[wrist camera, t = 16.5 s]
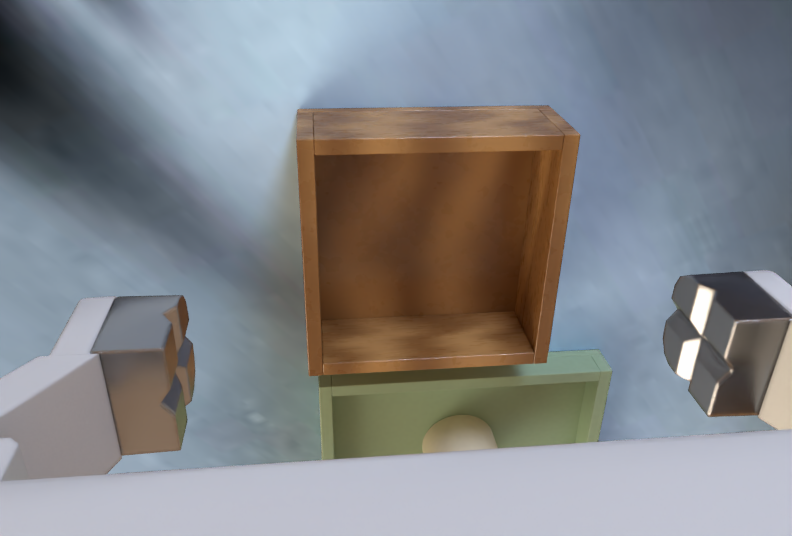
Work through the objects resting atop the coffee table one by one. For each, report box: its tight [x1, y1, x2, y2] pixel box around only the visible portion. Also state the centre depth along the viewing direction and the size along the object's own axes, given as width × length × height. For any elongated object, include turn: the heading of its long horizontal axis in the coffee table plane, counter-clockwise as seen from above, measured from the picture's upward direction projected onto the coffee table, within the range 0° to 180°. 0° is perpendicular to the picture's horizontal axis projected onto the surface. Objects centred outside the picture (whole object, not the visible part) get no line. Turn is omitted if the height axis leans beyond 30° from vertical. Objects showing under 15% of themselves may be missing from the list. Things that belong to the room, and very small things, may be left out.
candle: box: [422, 415, 498, 453], centre depth 45 cm, size 5×5×8 cm
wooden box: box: [296, 105, 580, 376], centre depth 39 cm, size 14×14×5 cm
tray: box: [319, 349, 612, 460], centre depth 48 cm, size 19×14×2 cm
